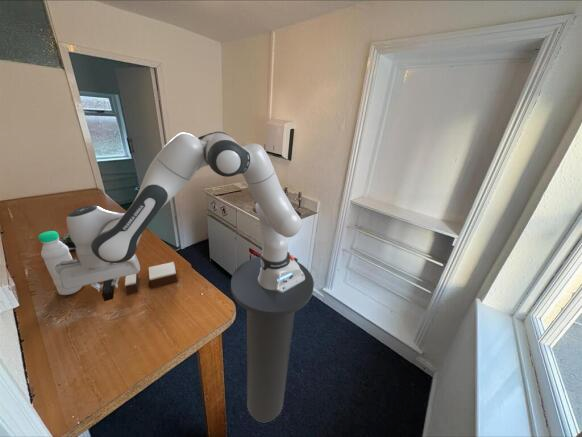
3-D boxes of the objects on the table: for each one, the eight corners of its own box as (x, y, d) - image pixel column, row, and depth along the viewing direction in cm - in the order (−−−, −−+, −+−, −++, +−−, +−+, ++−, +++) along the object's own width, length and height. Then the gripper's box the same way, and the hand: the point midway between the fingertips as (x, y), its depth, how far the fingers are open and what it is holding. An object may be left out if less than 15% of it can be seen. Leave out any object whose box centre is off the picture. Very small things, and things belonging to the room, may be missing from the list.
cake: (175, 270, 104) (173, 261, 102) (177, 281, 98) (175, 272, 96) (150, 276, 99) (148, 267, 97) (151, 288, 93) (149, 278, 91)
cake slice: (138, 279, 97) (136, 269, 95) (138, 292, 91) (135, 282, 89) (128, 281, 96) (126, 272, 94) (127, 294, 90) (124, 284, 87)
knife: (113, 299, 77) (110, 292, 76) (104, 301, 76) (101, 294, 75) (117, 264, 93) (115, 258, 91) (109, 266, 91) (107, 259, 90)
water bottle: (87, 282, 93) (66, 228, 83) (76, 295, 87) (52, 238, 76) (66, 283, 92) (42, 228, 81) (54, 297, 86) (26, 239, 75)
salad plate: (45, 243, 114) (42, 235, 112) (88, 229, 129) (86, 222, 127) (63, 256, 106) (60, 248, 104) (107, 240, 121) (105, 232, 119)
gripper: (49, 269, 66) (65, 305, 72) (135, 253, 76) (143, 285, 82) (55, 257, 70) (70, 292, 76) (135, 243, 80) (142, 275, 86)
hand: (108, 288), depth 79 cm, fingers closed on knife, 2 cm apart
